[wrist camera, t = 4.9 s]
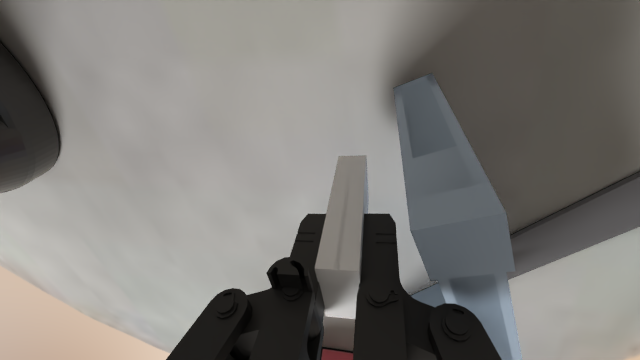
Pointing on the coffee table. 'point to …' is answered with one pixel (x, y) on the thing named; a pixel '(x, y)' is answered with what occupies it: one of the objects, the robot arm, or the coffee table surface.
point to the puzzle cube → (335, 354)
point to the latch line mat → (578, 226)
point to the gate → (455, 212)
